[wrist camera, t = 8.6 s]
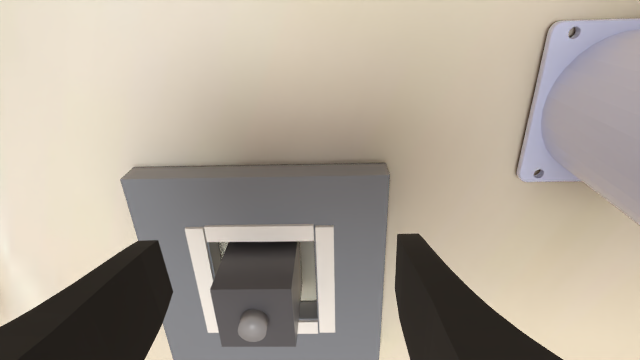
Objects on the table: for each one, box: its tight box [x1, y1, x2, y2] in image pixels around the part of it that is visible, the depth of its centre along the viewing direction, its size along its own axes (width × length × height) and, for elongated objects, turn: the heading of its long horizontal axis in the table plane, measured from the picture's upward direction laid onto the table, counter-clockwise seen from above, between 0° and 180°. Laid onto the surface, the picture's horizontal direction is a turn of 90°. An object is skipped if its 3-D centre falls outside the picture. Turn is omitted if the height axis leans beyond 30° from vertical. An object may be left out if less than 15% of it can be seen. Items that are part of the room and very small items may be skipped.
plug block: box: [210, 241, 302, 347], centre depth 21 cm, size 4×4×6 cm
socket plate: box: [120, 163, 390, 360], centre depth 23 cm, size 14×14×2 cm
